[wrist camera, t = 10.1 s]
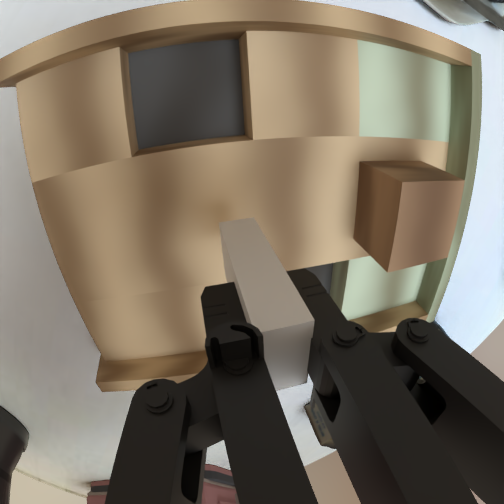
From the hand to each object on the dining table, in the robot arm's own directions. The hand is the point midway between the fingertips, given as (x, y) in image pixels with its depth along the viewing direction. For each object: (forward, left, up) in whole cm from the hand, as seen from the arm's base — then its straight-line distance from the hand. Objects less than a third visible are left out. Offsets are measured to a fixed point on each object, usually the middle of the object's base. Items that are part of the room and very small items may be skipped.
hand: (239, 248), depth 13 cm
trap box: (+4, 0, -6) cm, 7 cm away
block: (+10, 0, -3) cm, 11 cm away
